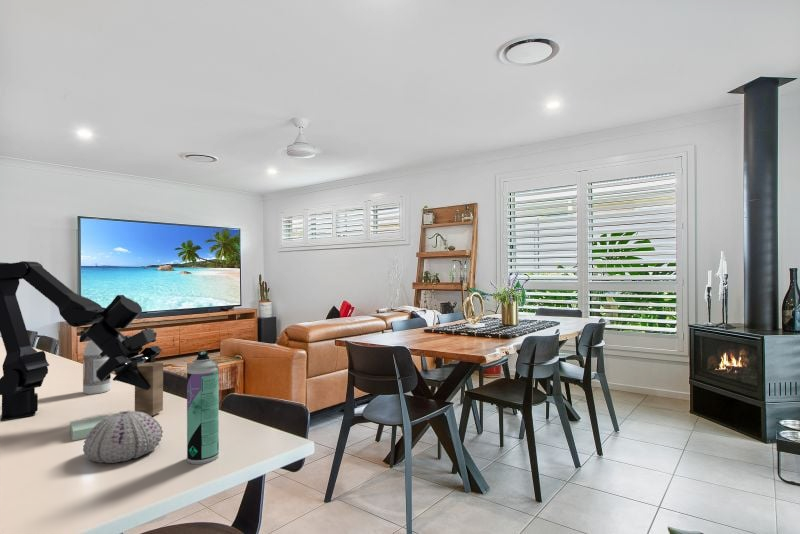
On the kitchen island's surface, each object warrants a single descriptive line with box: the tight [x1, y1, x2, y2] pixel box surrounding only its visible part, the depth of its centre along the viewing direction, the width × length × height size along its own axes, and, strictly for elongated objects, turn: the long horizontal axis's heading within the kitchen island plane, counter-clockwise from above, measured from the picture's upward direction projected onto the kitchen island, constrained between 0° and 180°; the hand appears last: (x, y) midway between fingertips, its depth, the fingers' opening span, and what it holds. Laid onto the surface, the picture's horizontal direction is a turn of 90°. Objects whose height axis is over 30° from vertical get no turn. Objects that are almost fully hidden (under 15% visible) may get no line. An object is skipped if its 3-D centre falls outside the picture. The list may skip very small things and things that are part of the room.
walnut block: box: [134, 362, 164, 417], centre depth 112 cm, size 4×4×12 cm
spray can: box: [186, 351, 220, 465], centre depth 85 cm, size 6×6×20 cm
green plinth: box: [69, 414, 111, 442], centre depth 100 cm, size 8×8×2 cm
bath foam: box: [82, 340, 112, 395], centre depth 136 cm, size 7×7×20 cm
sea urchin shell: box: [82, 410, 164, 464], centre depth 88 cm, size 13×14×8 cm
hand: (154, 386), depth 112 cm, fingers closed on walnut block, 4 cm apart
